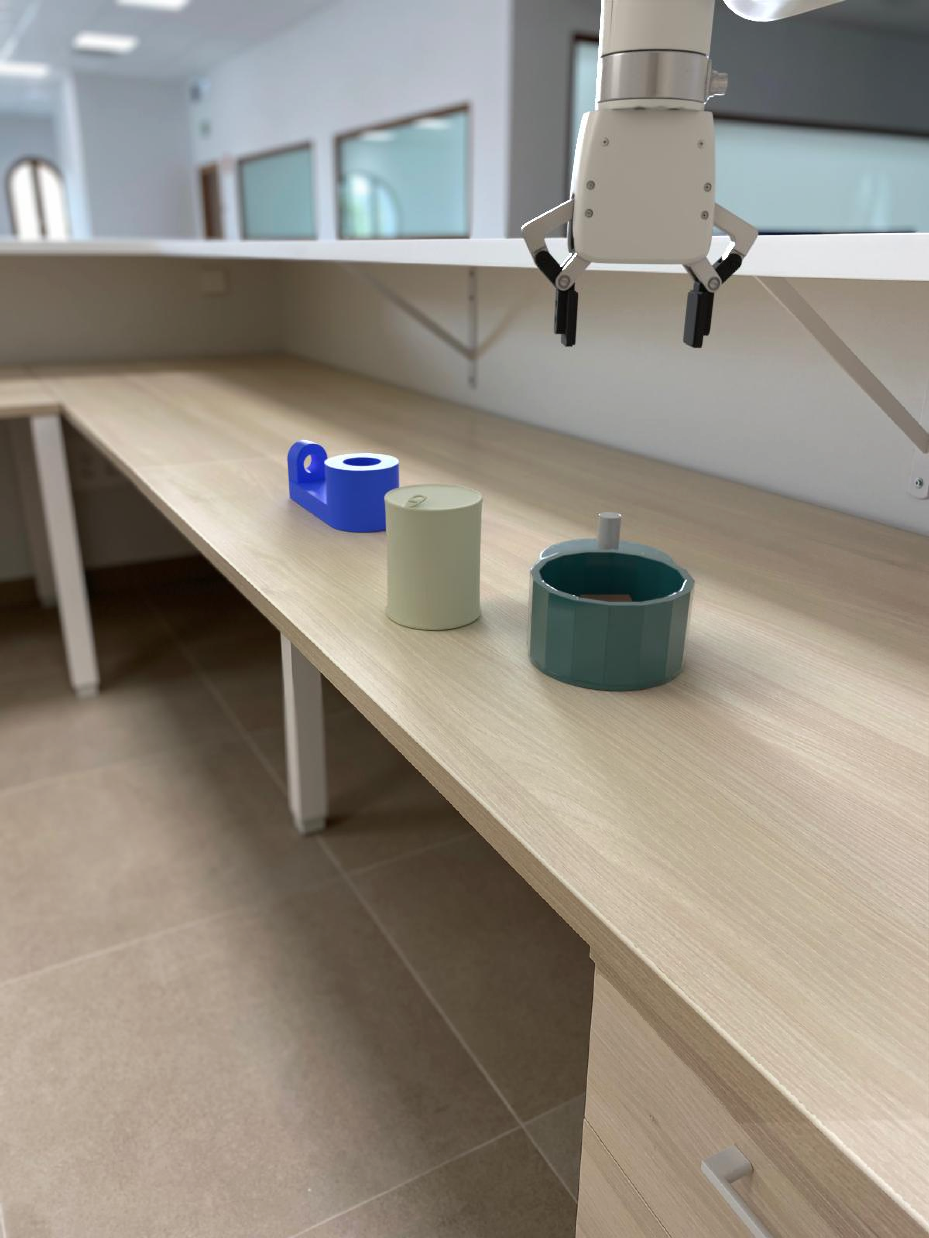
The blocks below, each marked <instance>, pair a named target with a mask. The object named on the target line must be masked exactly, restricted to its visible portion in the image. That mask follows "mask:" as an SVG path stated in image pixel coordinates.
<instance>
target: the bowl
mask: <svg viewBox="0 0 929 1238" xmlns="http://www.w3.org/2000/svg"><path fill="white" fill-rule="evenodd" d="M528 582H529V583H528V604H527V605H528V607H527V627H526V628H527V629H526V646H527V656H528V659H529V661H530V662H531V663H532V665H533V666H534V667H535V668H536V669H538V670H539V671H540V672H542V673H543V674H545V675H546V676H549V677H550V678H552V679H555V680H557V681H559V682H562V683H565V684H568V685H572V686H576V687H581V688H585V689H592V690H597V691H598V690H599V691H610V692H611V691H615V692H622V691H624V692H625V691H637V690H644V689H651V688H654V687H658V686H661V685H664V684H666V683H668V682H670V681H673V680H674V679H675V678H677V677H678V676H679V675H680V673H682V671H683V669H684V666H685V661H686V658H687V651H688V643H689V634H690V626H691V619H692V618H691V617H692V610H693V602H694V592H695V586H696V581H695V579H694V578H693V577H692V576H691V573H690V572H689V571H688V570H687V569H685V568H684V567H682V566H680V565H677V564H675V562H674V563H672V562H670V561H668V560H665V559H661V558H657V557H654V556H650V555H646V554H643V553H636V552H628V551H620V550H576V551H569V552H562V553H557V554H554V555H552V556H549V557H546V558H544V559H541V560H540V559H538V561H537V562H535V564H534V565H533V566H532V567H531V568H530V569H529V581H528ZM580 595H630V597H631V599H632V601H633V602H607V601H600V600H593V599H586V598H580Z"/></svg>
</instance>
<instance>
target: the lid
mask: <svg viewBox="0 0 929 1238" xmlns="http://www.w3.org/2000/svg"><path fill="white" fill-rule="evenodd" d="M597 522H598V523H597V534H596V535H597V536H596V537H597V538H579V539H578V538H577V539H571V540H565V541H560V542H557V543H554V544H551V545H549V546H547V547H545V548H544V549H543V550H542V551H541V553H540V554H539V560H541V559H544V558H546V557H549V556H552V555H554V554H557V553H562V552H569V551H576V550H620V551H628V552H636V553H643V554H646V555H650V556H654V557H657V558H661V559H665V560H668V561H670V562H672V563H674V564H675V561H674V559H673V558H672V557H671V556H670V555H668V553H666V552H664V551H662V550H661V549H658V548H655V547H653V546H650V545H647V544H643V543H639V542H636V541H635V542H634V541H630V540H622V539H620V537H621V526H622V514H621V513H618V512H615V511H614V512H613V511H604V512H603V511H602V512H600V513H599V514H598V521H597Z"/></svg>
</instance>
